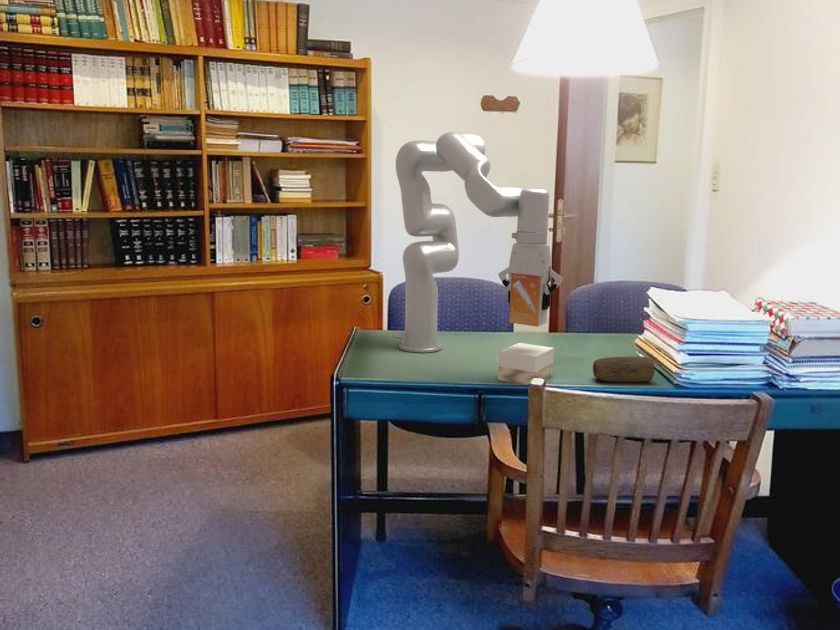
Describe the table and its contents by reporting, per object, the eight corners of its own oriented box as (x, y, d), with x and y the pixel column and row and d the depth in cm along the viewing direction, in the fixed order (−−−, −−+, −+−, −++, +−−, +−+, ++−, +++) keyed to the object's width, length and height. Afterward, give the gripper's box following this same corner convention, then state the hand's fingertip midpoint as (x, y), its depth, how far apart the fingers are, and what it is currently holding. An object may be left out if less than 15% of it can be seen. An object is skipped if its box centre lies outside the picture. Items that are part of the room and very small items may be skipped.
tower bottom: (498, 381, 197) (498, 366, 197) (515, 371, 208) (515, 357, 207) (535, 387, 193) (536, 372, 192) (550, 377, 203) (551, 362, 202)
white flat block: (498, 366, 197) (499, 351, 196) (518, 357, 207) (519, 342, 206) (535, 372, 192) (535, 356, 191) (553, 362, 202) (554, 347, 201)
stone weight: (644, 377, 203) (646, 353, 202) (655, 385, 196) (657, 359, 195) (589, 378, 201) (591, 353, 200) (598, 385, 195) (599, 359, 193)
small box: (508, 323, 196) (510, 272, 194) (517, 319, 202) (520, 269, 199) (538, 327, 192) (541, 275, 190) (547, 323, 198) (550, 272, 196)
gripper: (493, 237, 194) (491, 306, 197) (560, 242, 186) (557, 313, 189) (505, 235, 200) (502, 302, 204) (570, 239, 192) (566, 308, 196)
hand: (528, 307), depth 196 cm, fingers closed on small box, 8 cm apart
